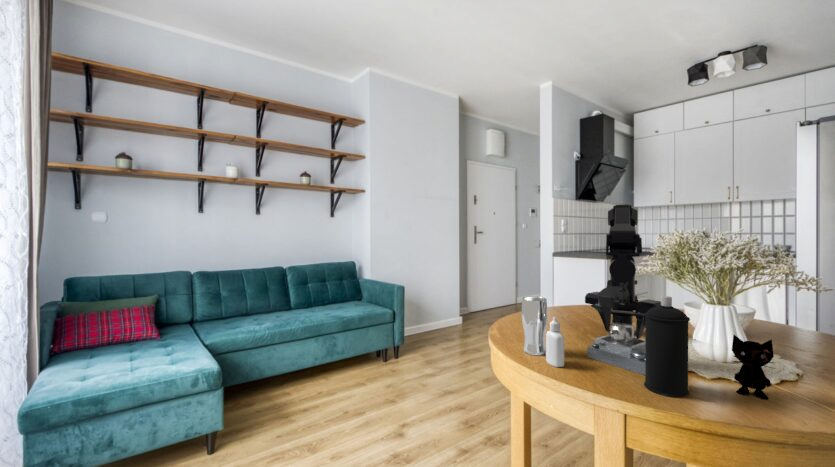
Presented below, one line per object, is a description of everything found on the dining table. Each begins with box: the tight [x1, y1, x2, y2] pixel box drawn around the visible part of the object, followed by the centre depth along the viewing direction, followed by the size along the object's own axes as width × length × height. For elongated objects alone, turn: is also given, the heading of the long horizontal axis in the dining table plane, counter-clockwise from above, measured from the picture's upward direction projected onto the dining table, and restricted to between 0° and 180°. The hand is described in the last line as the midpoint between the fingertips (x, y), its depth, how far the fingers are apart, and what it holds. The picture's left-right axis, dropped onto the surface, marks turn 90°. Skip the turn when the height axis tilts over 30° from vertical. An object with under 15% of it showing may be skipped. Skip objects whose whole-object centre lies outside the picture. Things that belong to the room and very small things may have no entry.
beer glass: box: [521, 296, 549, 356], centre depth 106 cm, size 7×7×15 cm
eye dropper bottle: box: [545, 316, 565, 368], centre depth 97 cm, size 4×6×12 cm
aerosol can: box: [643, 295, 691, 398], centre depth 81 cm, size 8×8×20 cm
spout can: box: [609, 323, 635, 347], centre depth 100 cm, size 8×6×6 cm
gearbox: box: [587, 333, 645, 376], centre depth 98 cm, size 14×16×4 cm
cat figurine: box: [731, 334, 776, 401], centre depth 78 cm, size 7×7×12 cm
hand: (622, 334), depth 101 cm, fingers open, 8 cm apart
